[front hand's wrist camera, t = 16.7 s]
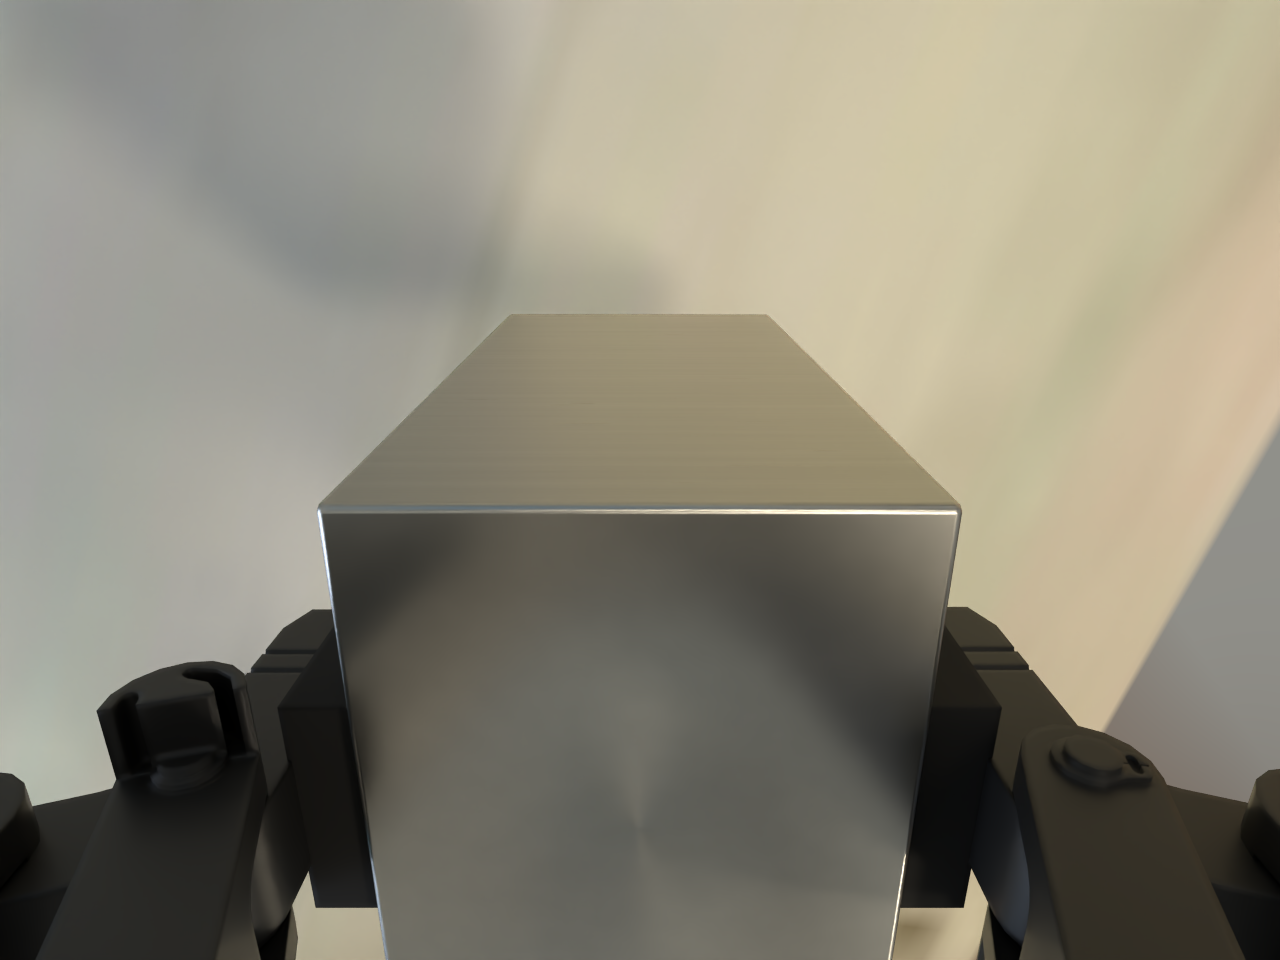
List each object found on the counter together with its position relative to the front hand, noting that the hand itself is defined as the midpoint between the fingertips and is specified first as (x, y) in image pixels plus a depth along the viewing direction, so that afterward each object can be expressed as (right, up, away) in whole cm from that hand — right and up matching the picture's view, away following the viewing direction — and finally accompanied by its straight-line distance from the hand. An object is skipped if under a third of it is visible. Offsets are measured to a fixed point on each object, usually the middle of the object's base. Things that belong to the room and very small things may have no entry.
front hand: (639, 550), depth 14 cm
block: (0, +2, +4) cm, 5 cm away
